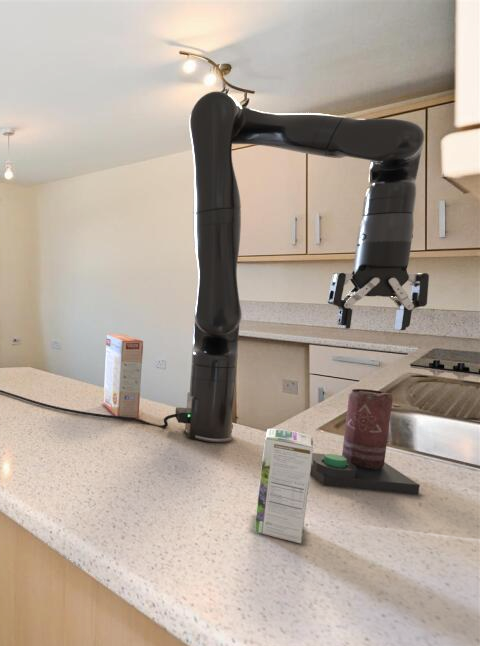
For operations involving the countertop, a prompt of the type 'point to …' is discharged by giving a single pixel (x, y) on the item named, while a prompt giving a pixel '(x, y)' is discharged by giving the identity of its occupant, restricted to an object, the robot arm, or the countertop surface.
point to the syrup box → (284, 484)
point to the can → (367, 428)
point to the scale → (362, 477)
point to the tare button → (335, 460)
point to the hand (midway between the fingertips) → (371, 329)
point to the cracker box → (123, 375)
